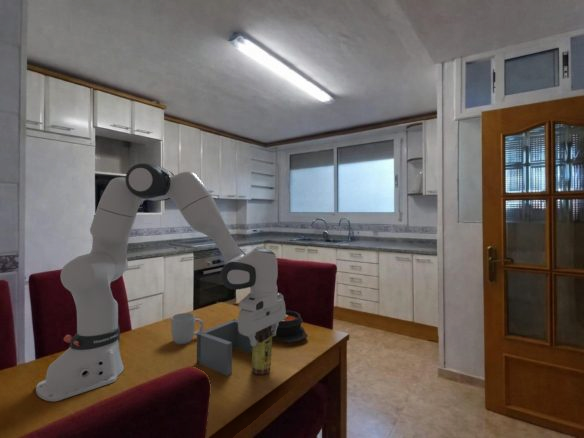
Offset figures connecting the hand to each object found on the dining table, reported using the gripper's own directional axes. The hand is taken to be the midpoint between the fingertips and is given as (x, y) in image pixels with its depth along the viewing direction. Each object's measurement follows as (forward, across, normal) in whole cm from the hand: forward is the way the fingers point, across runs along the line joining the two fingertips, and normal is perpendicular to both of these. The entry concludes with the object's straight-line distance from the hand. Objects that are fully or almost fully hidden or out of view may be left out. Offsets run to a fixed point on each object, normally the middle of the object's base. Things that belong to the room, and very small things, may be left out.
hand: (263, 340), depth 101 cm
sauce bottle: (+10, 0, -1) cm, 10 cm away
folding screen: (+10, 0, -14) cm, 17 cm away
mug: (+10, -1, -41) cm, 42 cm away
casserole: (+10, -28, -13) cm, 33 cm away
